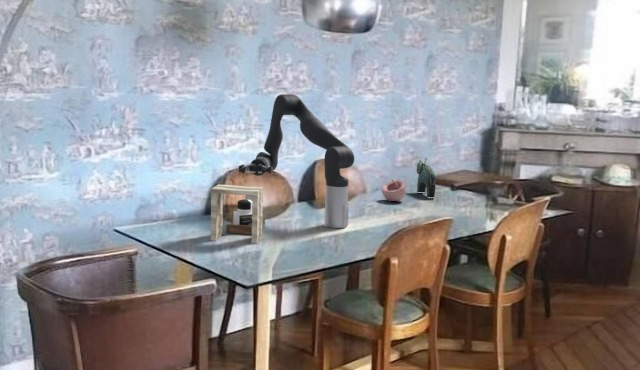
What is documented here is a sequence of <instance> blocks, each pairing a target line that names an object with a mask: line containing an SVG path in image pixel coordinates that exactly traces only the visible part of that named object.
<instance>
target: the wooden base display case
mask: <svg viewBox="0 0 640 370" xmlns="http://www.w3.org/2000/svg"><path fill="white" fill-rule="evenodd" d="M245 199H246V200H251V201H252V195H245ZM265 225H266V219H265V218H264V219H263V218H262V228H263V227H264V226H265ZM225 233H226V234H227V233H230V234H243V235H245V234H246V235H252V226H249V225H234V224H233V221H231V222H230V223H229V224H228V223H226V225H225Z"/></svg>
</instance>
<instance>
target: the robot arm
mask: <svg viewBox="0 0 640 370" xmlns="http://www.w3.org/2000/svg"><path fill="white" fill-rule="evenodd" d="M284 116H294V117H295V118H297V119H298V121H299V122H300V123H299V129H300V132H301V134H302V135H303V136H304V137H305V138H306V139H307V141H309V142H310V143H312V145H315V146H317V147H320V148H321V149H324V150H325V153H324V162H323V163H324V178H325V202H324V204H325V205H324V226H325V227H327V228H331V229H345V228H346V227H348V225H349V211H350V210H349V209H350V208H349V205H350V204H349V201H348V197H349V179H348V178H347V177H345V176H342V175H341V169H348V168H350V167H352V166H353V165H354V164H355V155H354V152H353V151H352V149H351V148H350V147H349V146H348V145H347V144H346V143H345V142H343V141H341V140H340V138H338V137H336V135H335V134H333V133H332V131H331V130H329V129H328V128H327V126H326V125H324V123H323V122H322V121H320V119H319V118H317V116H315V115H314V113H312V112H311V110H310V109H308V107H307V105H306V104H305V103H304V102H303V100H302V99H301V98H300V97H299V96H298V95H296V94H291V93H290V94H289V93H288V94H279V95H277V96H276V98H275V99H274V103H273V107H272V114H271V118H270V119H271V120H270V126H269V130H268V134H267V137H266V138H265V143H264V146H263V148H264V149H263V150H264V151H265V152H264V151H261V152H258V153H257V155H256V157H255V158H254V159H253V160H252V161H251V162H250V163H249V164H246V165H245V164H241V165H238V172H239V173H241V174H245V173H247V174H252V175H253V176H257V177H259V176H262V175H265V174H267V173H268V174H272V173H273V171H275V170H276V169H277V167H278V163H279V162H278V161H279V151H280V147H281V144H282V142H283V138H284V134H283V131H282V126H281V125H282V124H281V121H282V118H283V117H284ZM266 152H267V153H266Z"/></svg>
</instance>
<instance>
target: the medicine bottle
mask: <svg viewBox="0 0 640 370" xmlns="http://www.w3.org/2000/svg"><path fill="white" fill-rule="evenodd" d="M236 202H237V204H236V205H237V206H236V207H237V208H236V210H234V211H233V218H232V219H233V224H234V225H249V226H252V201H251V200H246V198H245V199H243V198H242V199H239V200H237V201H236Z"/></svg>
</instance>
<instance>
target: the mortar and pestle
mask: <svg viewBox="0 0 640 370" xmlns="http://www.w3.org/2000/svg"><path fill="white" fill-rule="evenodd" d="M381 193H382V195H383V197H384V198H385V200H387V201H388V202H391V201H397V202H399V201H402V200H403V199H404V198H405V196H406V195H407V186H406V183H405V181H403V180H400V179H395V180H394V179H391V180H390V181H389V182H387V183H385V184H384V185H383V186H382V188H381Z"/></svg>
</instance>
